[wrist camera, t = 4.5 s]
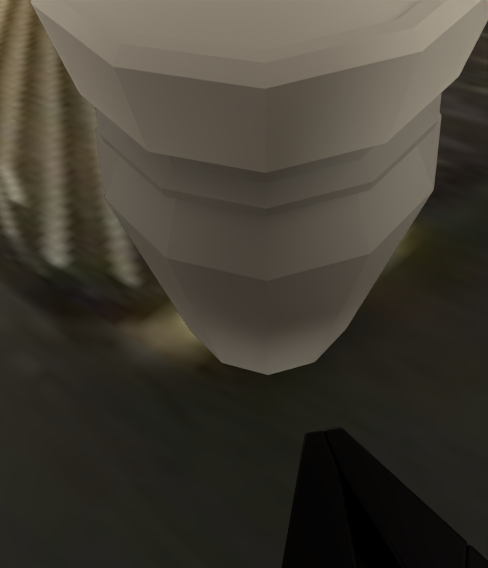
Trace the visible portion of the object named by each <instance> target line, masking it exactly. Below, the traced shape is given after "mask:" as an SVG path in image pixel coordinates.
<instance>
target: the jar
mask: <svg viewBox="0 0 488 568" xmlns="http://www.w3.org/2000/svg"><path fill="white" fill-rule="evenodd" d="M31 4H32V6H33V8H34V10H35V11H36V13H37V15H38V17H39V19H40V21H41V23H42V24H43V26H44V28H45V30H46V32H47V34H48V36H49V37H50V39H51V41H52V43H53V45H54V47H55V49H56V50H57V52H58V54H59V56H60V58H61V60H62V62H63V63H64V65H65V67H66V69H67V71H68V73H69V75H70V76H71V78H72V80H73V82H74V84H75V86H76V88H77V90H78V91H79V93H80V94H81V95H82V96H83V97H84V98H85V99H87V100H88V101H89V102H90V103H91V104H93V105H94V106H95V109H96V116H97V123H98V125H97V128H96V136H97V143H98V151H99V158H100V165H101V173H102V180H103V187H104V195H105V200H106V201H107V203H108V204H109V206H110V207H111V209H112V210H113V212H114V214H115V215H116V217H117V218H118V220H119V221H120V223H121V224H122V226H123V227H124V229H125V231H126V232H127V234H128V235H129V237H130V238H131V240H132V241H133V243H134V244H135V246H136V248H137V249H138V251H139V252H140V254H141V255H142V257H143V258H144V260H145V261H146V263H147V265H148V266H149V268H150V269H151V271H152V272H153V274H154V275H155V277H156V278H157V280H158V282H159V283H160V285H161V286H162V288H163V289H164V291H165V292H166V294H167V295H168V297H169V299H170V300H171V302H172V303H173V305H174V306H175V308H176V309H177V311H178V312H179V314H180V316H181V317H182V319H183V320H184V322H185V323H186V325H187V326H188V328H189V329H190V331H191V332H192V333H193V334H194V335H195V336H196V337H197V338H198V339H199V340H200V341H201V342H202V343H203V344H204V345H205V346H206V347H207V348H208V349H209V350H210V351H211V352H212V353H213V354H214V355H215V356H216V358H217V359H218V360H219V361H220V362H221V363H225V364H229V365H232V366H236V367H240V368H244V369H247V370H251V371H255V372H259V373H262V374H266V375H270V374H273V373H277V372H281V371H284V370H288V369H292V368H295V367H299V366H302V365H306V364H310V363H313V362H315V361H316V360H317V359H318V358H319V357H320V356H321V355H322V354H323V353H324V352H325V351H326V350H327V348H328V347H329V346H330V345H331V344H332V343H333V342H334V341H335V340H336V339H337V338H338V337H339V336H340V335H341V334H342V333H343V331H344V330H345V329H346V328H347V326H348V325H349V323H350V322H351V320H352V319H353V317H354V315H355V314H356V312H357V311H358V309H359V307H360V306H361V304H362V303H363V301H364V299H365V298H366V296H367V295H368V293H369V291H370V290H371V288H372V287H373V285H374V284H375V282H376V280H377V279H378V277H379V276H380V274H381V272H382V271H383V269H384V268H385V266H386V264H387V263H388V261H389V260H390V258H391V256H392V255H393V253H394V252H395V250H396V248H397V247H398V245H399V244H400V242H401V241H402V239H403V237H404V236H405V234H406V233H407V231H408V229H409V228H410V226H411V225H412V223H413V221H414V220H415V218H416V217H417V215H418V213H419V212H420V210H421V209H422V207H423V206H424V204H425V202H426V201H427V199H428V198H429V196H430V194H431V193H432V191H433V190H434V181H435V172H436V163H437V153H438V144H439V134H440V125H441V114H440V112H439V111H440V102H441V93H442V91H443V90H444V89H446V88H447V87H448V86H449V85H450V84H451V83H452V82H453V81H454V80H455V79H456V78H458V77H459V75H460V73H461V71H462V69H463V67H464V65H465V63H466V61H467V59H468V57H469V55H470V54H471V52H472V50H473V48H474V46H475V44H476V42H477V40H478V38H479V36H480V34H481V32H482V30H483V28H484V26H485V24H486V22H487V21H488V0H31Z"/></svg>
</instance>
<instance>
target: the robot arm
mask: <svg viewBox="0 0 488 568" xmlns="http://www.w3.org/2000/svg"><path fill="white" fill-rule="evenodd" d="M282 568H488V560H486V559H485V558H484V557H483V556H482V555H481V554H480V553H479V552H478V551H477V550H476V549H474V548H473V547H472V546H471V545H468V546H467V542H466V541H465V540H464V539H463V538H462V537H461V536H460V535H459V534H458V533H457V532H456V531H455V530H453V529H452V528H451V527H450V526H449V525H448V524H447V523H446V522H445V521H444V520H442V519H441V518H440V517H439V516H438V515H437V514H436V513H435V512H434V511H433V510H432V509H430V508H429V507H428V506H427V505H426V504H425V503H424V502H423V501H422V500H421V499H420V498H418V497H417V496H416V495H415V494H414V493H413V492H412V491H411V490H410V489H409V488H407V487H406V486H405V485H404V484H403V483H402V482H401V481H400V480H399V479H398V478H397V477H395V476H394V475H393V474H392V473H391V472H390V471H389V470H388V469H387V468H386V467H384V466H383V465H382V464H381V463H380V462H379V461H378V460H377V459H376V458H375V457H374V456H372V455H371V454H370V453H369V452H368V451H367V450H366V449H365V448H364V447H363V446H361V445H360V444H359V443H358V442H357V441H356V440H355V439H354V438H353V437H352V436H351V435H349V434H348V433H347V432H346V431H345V430H344V429H343V428H341V427H336V428H329V429H325V430H324V432H323V431H322V430H315V431H308V432H306V433H305V436H304V441H303V447H302V453H301V459H300V464H299V470H298V476H297V482H296V488H295V493H294V499H293V505H292V511H291V516H290V522H289V528H288V534H287V540H286V545H285V551H284V557H283V563H282Z"/></svg>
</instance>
